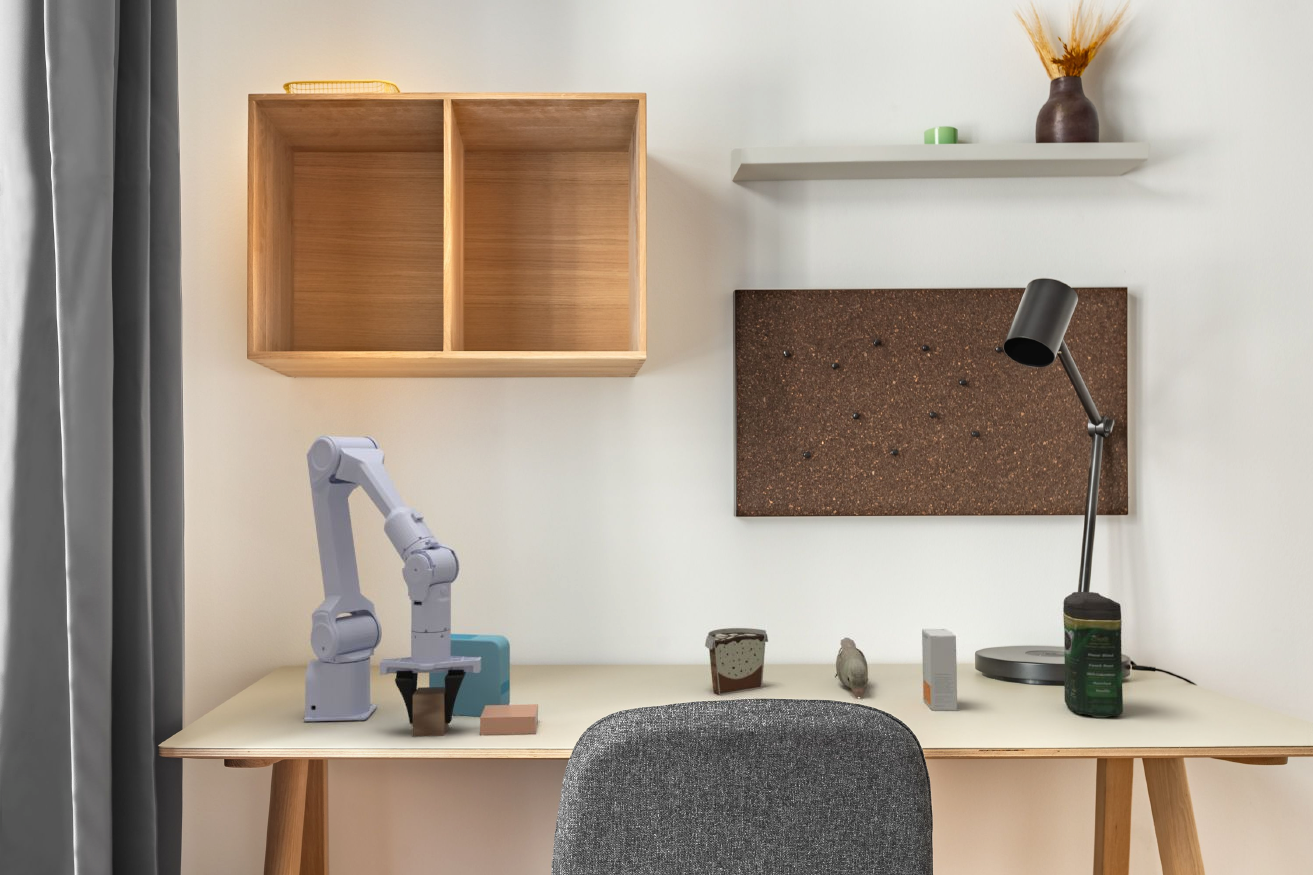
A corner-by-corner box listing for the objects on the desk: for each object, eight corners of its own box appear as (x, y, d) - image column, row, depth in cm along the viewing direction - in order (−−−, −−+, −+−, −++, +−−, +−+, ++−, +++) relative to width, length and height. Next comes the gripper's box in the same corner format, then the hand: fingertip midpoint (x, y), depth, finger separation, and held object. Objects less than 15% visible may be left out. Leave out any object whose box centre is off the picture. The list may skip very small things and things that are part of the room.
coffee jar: (1130, 720, 141) (1127, 597, 142) (1074, 717, 143) (1072, 596, 143) (1111, 704, 151) (1109, 589, 151) (1059, 701, 152) (1057, 588, 153)
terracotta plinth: (480, 734, 135) (480, 717, 136) (485, 721, 142) (485, 705, 142) (535, 733, 136) (535, 716, 136) (538, 720, 143) (538, 704, 143)
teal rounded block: (510, 710, 149) (510, 635, 150) (500, 717, 145) (500, 640, 145) (440, 706, 152) (440, 633, 152) (428, 714, 147) (428, 638, 147)
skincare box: (922, 701, 154) (921, 628, 154) (948, 701, 153) (947, 628, 154) (931, 710, 147) (929, 635, 148) (958, 711, 147) (957, 635, 148)
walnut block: (412, 736, 135) (412, 694, 135) (418, 727, 140) (418, 687, 140) (443, 735, 135) (443, 694, 136) (448, 726, 140) (448, 686, 140)
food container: (747, 680, 169) (746, 625, 169) (768, 686, 164) (768, 629, 164) (691, 689, 162) (691, 631, 163) (711, 696, 157) (711, 637, 158)
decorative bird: (842, 699, 155) (842, 654, 155) (832, 678, 171) (831, 637, 171) (875, 700, 155) (875, 654, 155) (861, 678, 171) (861, 637, 171)
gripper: (375, 635, 133) (374, 730, 133) (477, 633, 134) (477, 728, 134) (385, 626, 140) (385, 717, 140) (482, 625, 141) (482, 714, 141)
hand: (430, 721), depth 137 cm, fingers closed on walnut block, 4 cm apart
